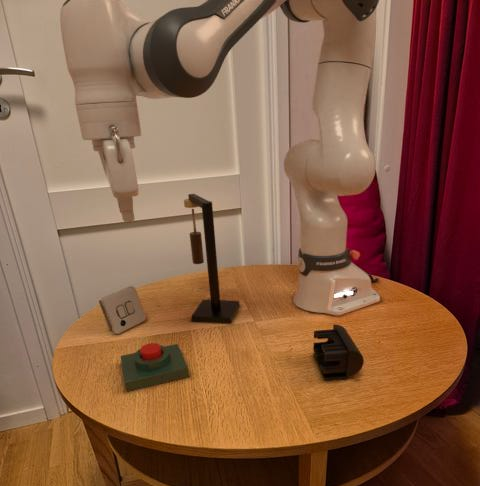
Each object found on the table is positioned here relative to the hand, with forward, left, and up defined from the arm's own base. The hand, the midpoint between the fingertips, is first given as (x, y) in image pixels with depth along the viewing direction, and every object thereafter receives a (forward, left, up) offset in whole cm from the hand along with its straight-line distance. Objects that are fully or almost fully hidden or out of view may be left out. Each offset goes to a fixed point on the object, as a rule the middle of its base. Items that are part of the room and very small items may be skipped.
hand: (127, 216), depth 68 cm
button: (0, 0, -28) cm, 28 cm away
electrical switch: (+4, -23, -31) cm, 39 cm away
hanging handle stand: (-19, -24, -31) cm, 44 cm away
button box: (0, 0, -31) cm, 31 cm away
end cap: (-34, +13, -31) cm, 48 cm away
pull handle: (-18, -32, -21) cm, 42 cm away
